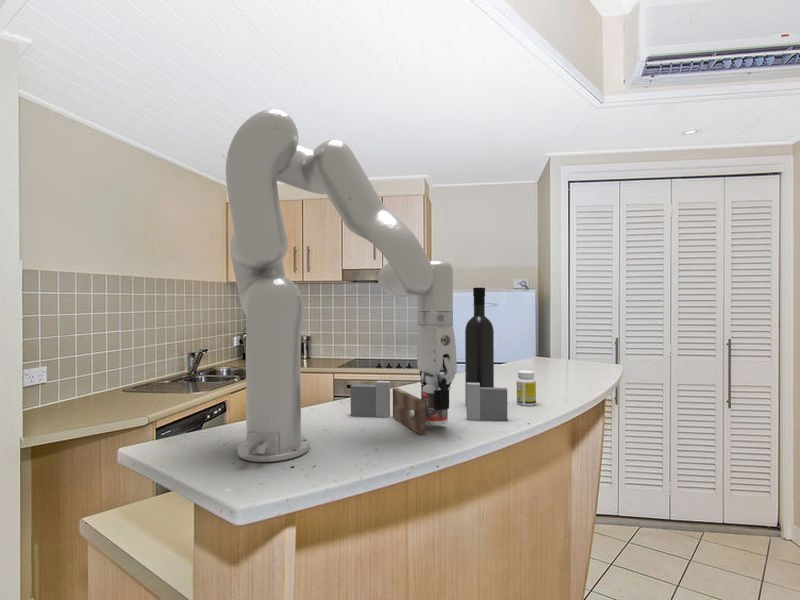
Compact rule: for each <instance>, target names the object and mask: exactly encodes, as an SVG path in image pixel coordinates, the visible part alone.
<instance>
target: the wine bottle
mask: <svg viewBox="0 0 800 600" xmlns="http://www.w3.org/2000/svg"><path fill="white" fill-rule="evenodd" d="M472 292H473V293H472V294H473V295H472V296H473V316H472V317H471V318H470V319H469V320H468V321H467V322H466V324H465V325H466V326H465V329H464V330H465V331H464V334H465V335H464V336H465V338H464V345H465V346H464V347H465V349H464V352H465V356H464V357H465V358H464V359H465V363H464V364H465V366H464V367H465V368H464V369H465V370H464V371H465V377H464V380H465V384H464V385H465V387H464V390H465V391H464V393H465V396H464V397H465V400H466V383H480V387H491V388H495V386H494V385H495V382H494V381H495V379H494V378H495V372H494V371H495V366H494V365H495V364H494V363H495V361H494V359H495V357H494V353H495V352H494V351H495V350H494V348H495V347H494V344H495V341H494V340H495V339H494V334H495V333H494V326H493V323H492V322H491V320H490V319H489V318H488V317H487V316H486V312H485V311H486V308H485V306H486V304H485V303H486V301H485V300H486V287H473V288H472Z"/></svg>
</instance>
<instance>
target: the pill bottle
mask: <svg viewBox="0 0 800 600" xmlns="http://www.w3.org/2000/svg"><path fill="white" fill-rule="evenodd" d="M440 374H441V373H440ZM440 374H439V375H440ZM439 379H440V382H441V380H442V379H444V378H439ZM425 381H426V383H427V385H425V386H423V388H422V400H424V401H425V424H426V425H435V426H436V425H444V424H446V423H448V418H449V416H448V415H449V412H448V410H449V409H444V410H435V409H434V390H436V385H435V378H434V376H433V375H430V374H429V375H426V377H425Z"/></svg>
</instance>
